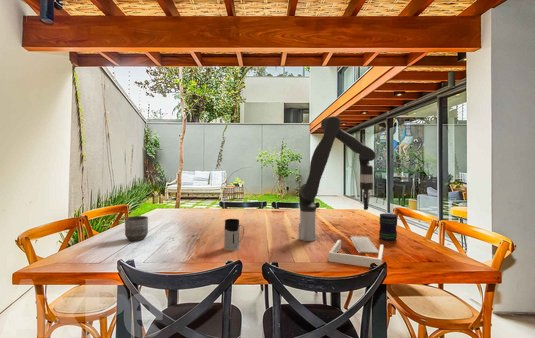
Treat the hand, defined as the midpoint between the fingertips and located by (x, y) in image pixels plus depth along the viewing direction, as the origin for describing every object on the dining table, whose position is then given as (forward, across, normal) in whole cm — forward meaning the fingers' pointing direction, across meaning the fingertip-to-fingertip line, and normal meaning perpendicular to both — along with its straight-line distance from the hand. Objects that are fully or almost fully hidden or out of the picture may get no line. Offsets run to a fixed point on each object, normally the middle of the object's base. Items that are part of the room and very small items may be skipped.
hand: (366, 209), depth 185 cm
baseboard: (+18, +21, 0) cm, 28 cm away
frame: (+17, +44, 0) cm, 47 cm away
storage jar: (+17, +2, +13) cm, 22 cm away
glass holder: (+17, +59, -60) cm, 86 cm away
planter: (+17, +67, -121) cm, 139 cm away
